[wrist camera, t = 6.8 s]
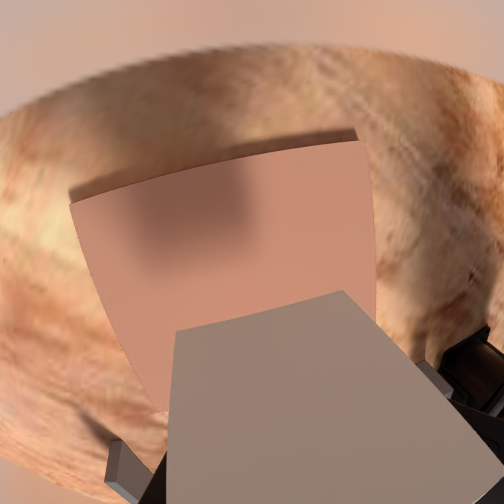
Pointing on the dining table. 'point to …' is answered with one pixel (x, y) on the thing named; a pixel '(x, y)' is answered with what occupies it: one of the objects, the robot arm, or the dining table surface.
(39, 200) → the dining table surface
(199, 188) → the terracotta mat
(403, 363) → the ivory block
